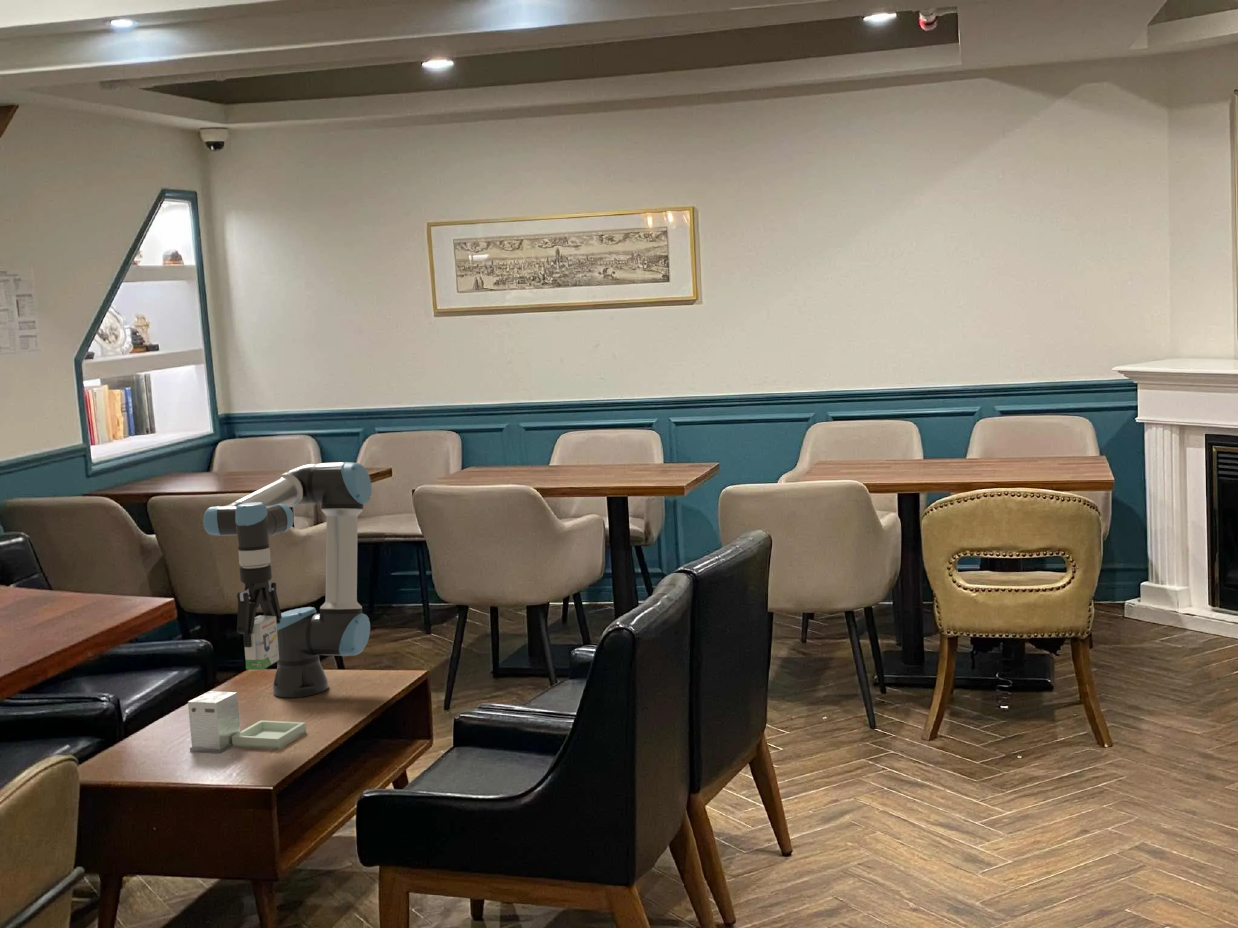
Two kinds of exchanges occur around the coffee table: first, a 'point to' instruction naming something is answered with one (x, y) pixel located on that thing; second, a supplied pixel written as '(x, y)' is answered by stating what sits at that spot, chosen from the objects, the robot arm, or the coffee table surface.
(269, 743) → the tray
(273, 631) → the ink box
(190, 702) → the unit
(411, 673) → the coffee table surface
